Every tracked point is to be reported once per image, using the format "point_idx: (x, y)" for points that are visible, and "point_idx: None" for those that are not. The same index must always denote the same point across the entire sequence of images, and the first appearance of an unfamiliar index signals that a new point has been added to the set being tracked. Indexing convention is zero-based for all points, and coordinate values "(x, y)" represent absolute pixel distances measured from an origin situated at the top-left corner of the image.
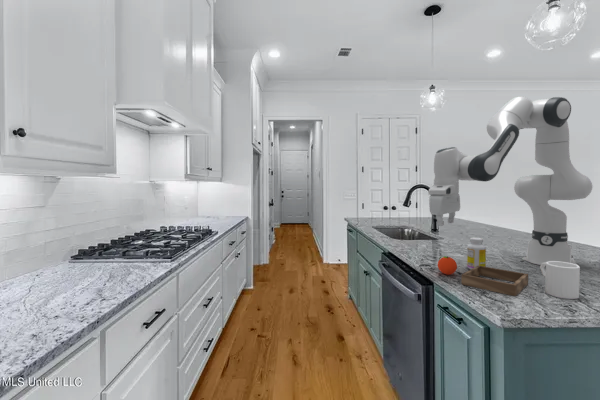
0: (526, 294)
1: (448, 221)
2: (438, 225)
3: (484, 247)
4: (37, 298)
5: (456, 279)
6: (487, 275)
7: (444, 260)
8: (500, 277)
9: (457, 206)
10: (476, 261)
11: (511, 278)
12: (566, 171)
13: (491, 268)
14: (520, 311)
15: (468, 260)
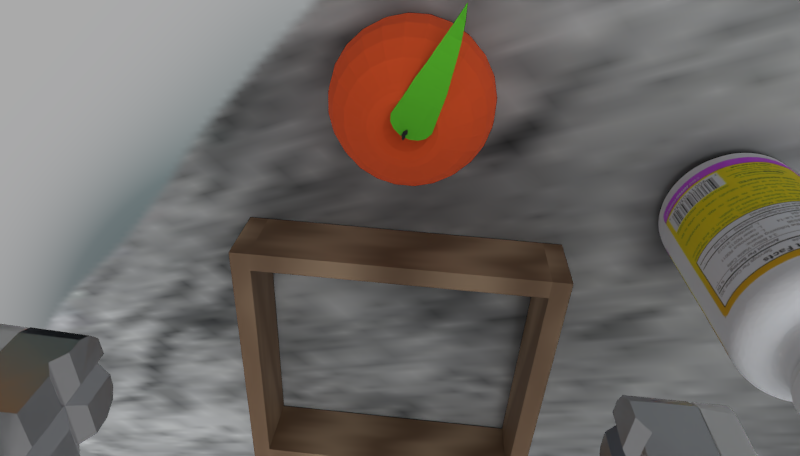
0: None
1: (629, 432)
2: (6, 336)
3: (779, 398)
4: None
5: (330, 168)
6: (532, 301)
7: (343, 116)
8: (520, 358)
9: None
10: (680, 264)
11: (511, 403)
12: None
13: (535, 355)
14: (113, 431)
15: (716, 200)
